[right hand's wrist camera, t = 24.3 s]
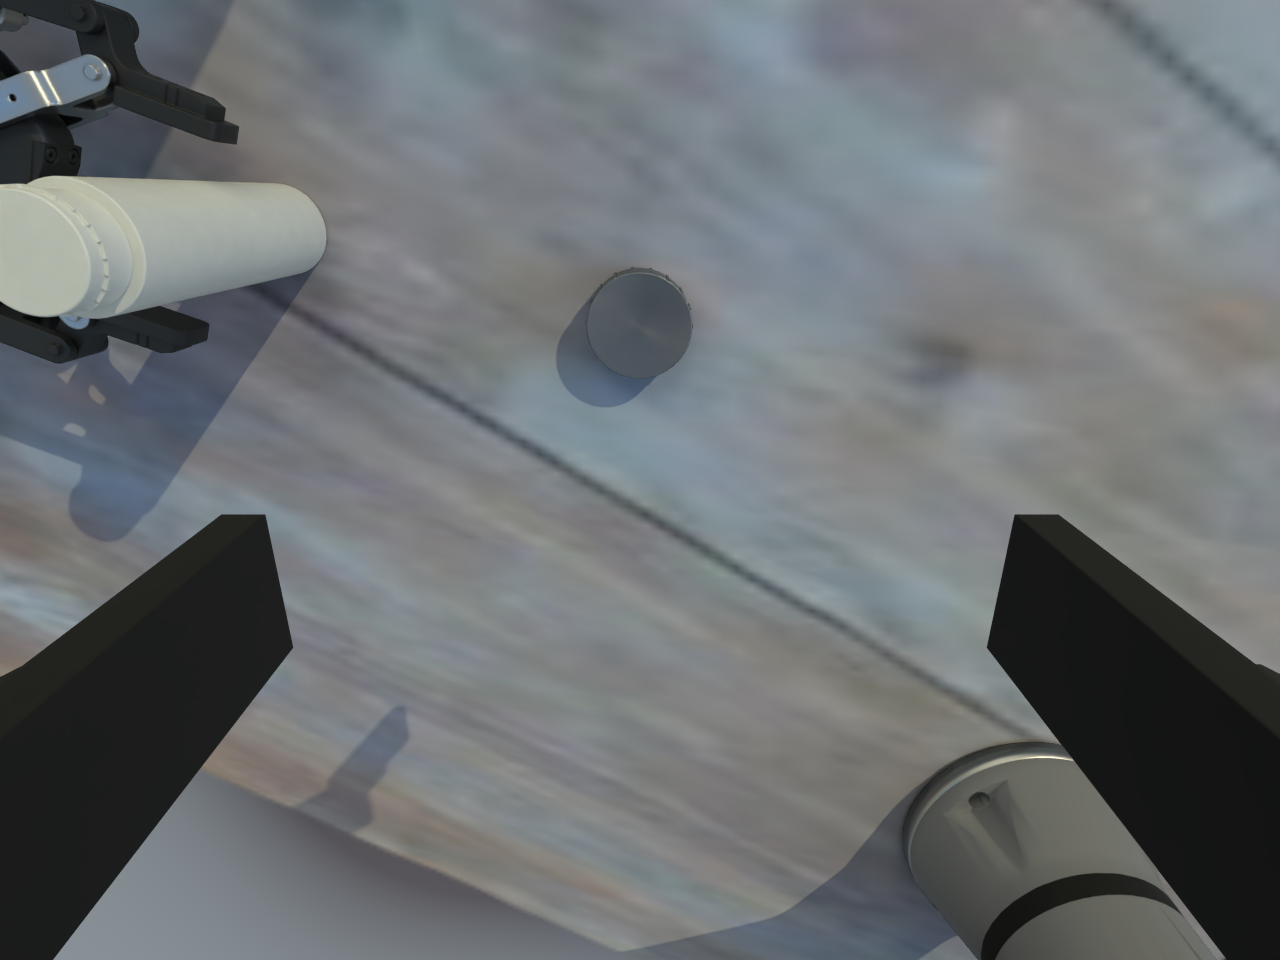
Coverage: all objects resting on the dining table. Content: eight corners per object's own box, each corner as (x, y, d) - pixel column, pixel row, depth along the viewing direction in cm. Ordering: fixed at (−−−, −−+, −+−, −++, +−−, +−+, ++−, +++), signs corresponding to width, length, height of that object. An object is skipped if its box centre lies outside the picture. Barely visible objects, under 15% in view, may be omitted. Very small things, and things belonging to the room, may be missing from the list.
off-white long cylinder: (343, 227, 36) (129, 249, 21) (296, 292, 37) (61, 358, 22) (269, 163, 35) (-15, 138, 20) (222, 232, 36) (-79, 259, 21)
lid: (580, 358, 39) (576, 367, 37) (599, 256, 37) (597, 259, 35) (676, 379, 39) (678, 389, 37) (701, 278, 37) (704, 283, 35)
